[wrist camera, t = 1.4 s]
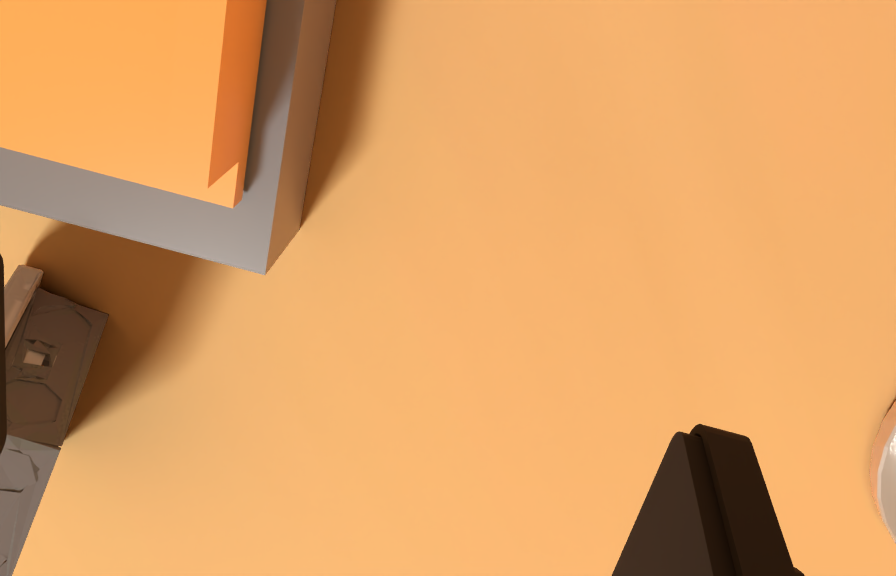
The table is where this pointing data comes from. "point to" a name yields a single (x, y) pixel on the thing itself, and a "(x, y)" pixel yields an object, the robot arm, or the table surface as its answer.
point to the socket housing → (267, 170)
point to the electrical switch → (38, 395)
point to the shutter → (134, 88)
